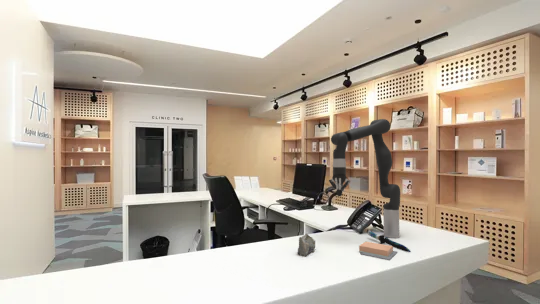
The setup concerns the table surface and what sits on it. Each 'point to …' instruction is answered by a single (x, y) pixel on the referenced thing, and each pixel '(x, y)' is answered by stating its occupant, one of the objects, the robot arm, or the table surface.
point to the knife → (387, 241)
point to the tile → (376, 249)
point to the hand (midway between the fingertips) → (339, 195)
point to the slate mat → (380, 256)
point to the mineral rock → (306, 245)
